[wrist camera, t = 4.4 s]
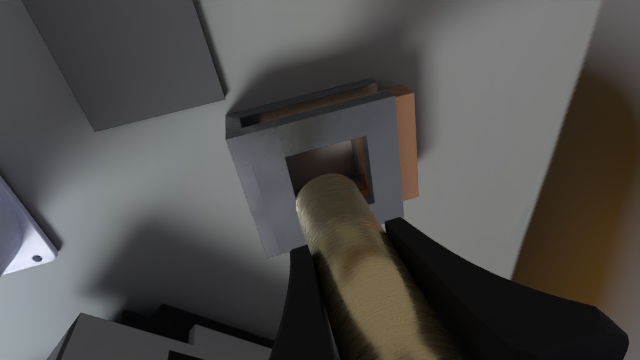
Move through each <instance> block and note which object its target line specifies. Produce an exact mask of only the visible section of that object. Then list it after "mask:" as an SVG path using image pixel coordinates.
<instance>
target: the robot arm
mask: <svg viewBox="0 0 640 360" xmlns="http://www.w3.org/2000/svg"><path fill="white" fill-rule="evenodd" d="M385 229H386V235H387V236H388V238H389V239H390V241H391V243H392V244H393V246H394V248H395V249H396V251H397V252H398V254H399V256H400V257H401V259H402V261H403V262H404V264H405V265H406V267H407V269H408V270H409V272H410V274H411V275H412V277H413V278H414V280H415V282H416V283H417V285H418V287H419V288H420V290H421V291H422V293H423V295H424V296H425V298H426V300H427V301H428V303H429V304H430V306H431V308H432V309H433V311H434V313H435V314H436V316H437V317H438V319H439V321H440V322H441V324H442V326H443V327H444V329H445V330H446V332H447V334H448V335H449V337H450V339H451V340H452V342H453V343H454V345H455V347H456V348H457V350H458V352H459V353H460V355H461V356H462V358H463V360H623V359H624V356H625V354H626V352H627V349H628V345H629V339H628V335H627V334H626V333H625V332H624V331H623V330H622V329H621V328H619V327H618V326H617V325H616V324H615V323H614V322H613V321H612V320H611V319H610V318H609V317H607V316H606V315H605V314H604V313H603V312H601V311H600V310H599V309H598V308H596V307H595V306H591V305H587V304H584V303H579V302H576V301H572V300H568V299H564V298H560V297H557V296H554V295H550V294H547V293H544V292H541V291H538V290H535V289H532V288H529V287H526V286H523V285H521V284H518V283H516V282H513V281H510V280H508V279H505V278H503V277H500V276H498V275H496V274H493V273H491V272H489V271H487V270H485V269H483V268H481V267H479V266H477V265H475V264H473V263H471V262H469V261H467V260H465V259H463V258H462V257H460V256H458V255H456V254H455V253H453V252H451V251H450V250H448V249H446V248H445V247H443V246H442V245H440V244H439V243H437V242H435V241H434V240H432V239H431V238H429V237H428V236H426V235H425V234H424V233H422V232H421V231H419V230H418V229H416V228H415V227H414V226H412V225H411V224H409V223H408V222H407V221H405V220H404V219H403V218H401V217H398V218H394V219H391V220H388V221H385ZM36 255H39V256H41V257H42V258H40V257H37V256H36ZM57 255H58V251H57V249H56V248H55V247H54V245H53V244H52V243H51V242H50V240H49V239H48V238H47V236H46V235H45V234H44V232H43V231H42V230H41V228H40V227H39V226H38V224H37V223H36V222H35V220H34V219H33V218H32V216H31V215H30V214H29V213H28V211H27V210H26V209H25V207H24V206H23V205H22V203H21V202H20V201H19V199H18V198H17V197H16V195H15V194H14V193H13V191H12V190H11V189H10V188H9V186H8V185H7V184H6V182H5V181H4V180H3V178H2V177H1V176H0V277H1V275H5V274H9V273H12V272H16V271H19V270H23V269H26V268H30V267H34V266H37V265H41V264H44V263H48V262H51V261H53V260H55V258H56V257H57ZM269 360H336V359H335V354H334V349H333V344H332V339H331V334H330V328H329V323H328V318H327V313H326V309H325V306H324V303H323V299H322V296H321V292H320V288H319V284H318V279H317V274H316V270H315V267H314V263H313V259H312V256H311V253H310V250H309V246H308V244H307V245H304V246H301V247H297V248H294V249H292V250H291V251H290V276H289V284H288V291H287V297H286V302H285V306H284V311H283V315H282V319H281V323H280V327H279V330H278V333H277V337H276V340H275V343H274V346H273V349H272V351H271V354H270V357H269Z"/></svg>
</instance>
